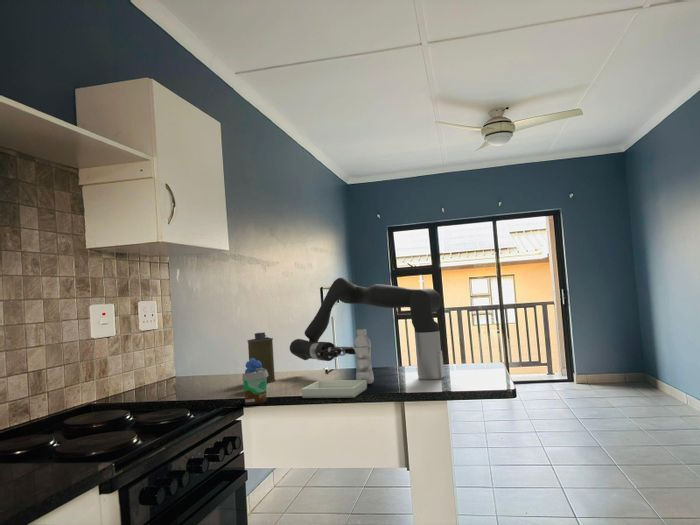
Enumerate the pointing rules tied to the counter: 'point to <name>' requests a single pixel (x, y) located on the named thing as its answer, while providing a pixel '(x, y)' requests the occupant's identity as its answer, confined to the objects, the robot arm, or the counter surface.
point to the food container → (255, 386)
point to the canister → (263, 353)
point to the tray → (334, 389)
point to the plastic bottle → (363, 357)
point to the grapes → (253, 366)
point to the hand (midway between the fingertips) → (346, 352)
